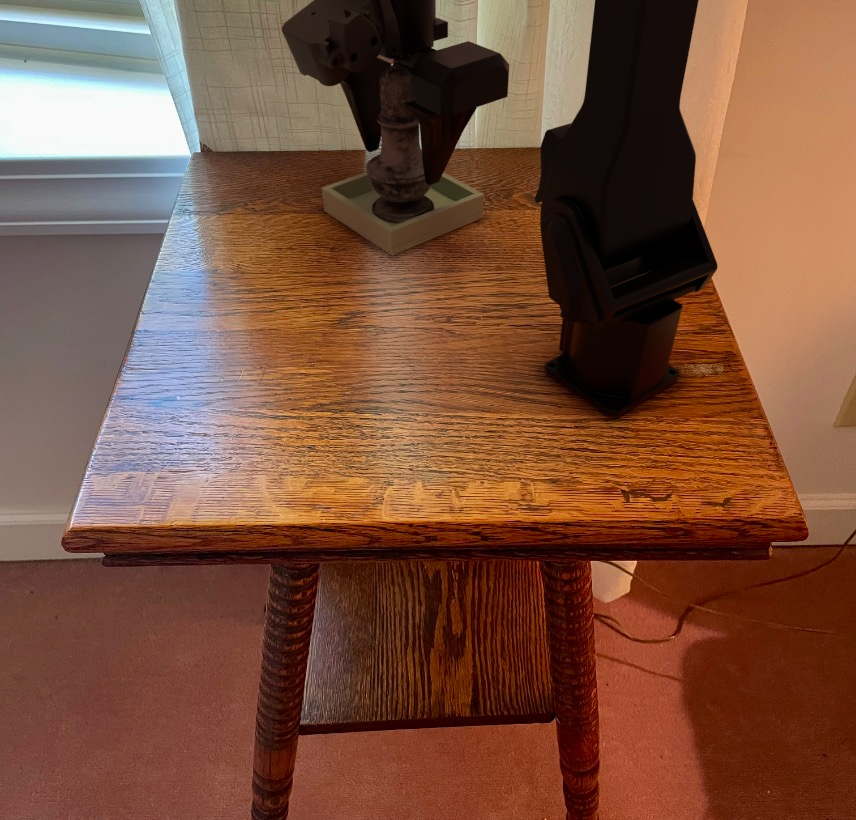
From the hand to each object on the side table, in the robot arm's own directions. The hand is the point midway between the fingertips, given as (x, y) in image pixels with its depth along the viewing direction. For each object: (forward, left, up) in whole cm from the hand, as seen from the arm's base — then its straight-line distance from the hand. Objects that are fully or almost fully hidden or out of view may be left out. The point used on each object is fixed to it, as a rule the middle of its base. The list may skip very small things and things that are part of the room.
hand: (401, 166), depth 67 cm
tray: (0, 0, -4) cm, 4 cm away
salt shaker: (0, 0, -4) cm, 4 cm away
